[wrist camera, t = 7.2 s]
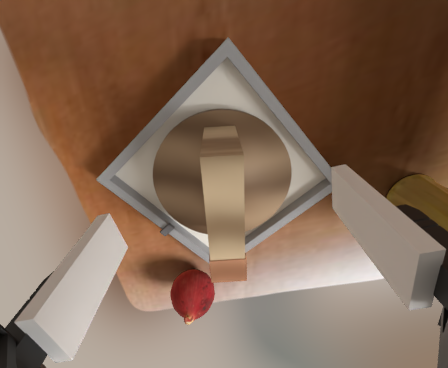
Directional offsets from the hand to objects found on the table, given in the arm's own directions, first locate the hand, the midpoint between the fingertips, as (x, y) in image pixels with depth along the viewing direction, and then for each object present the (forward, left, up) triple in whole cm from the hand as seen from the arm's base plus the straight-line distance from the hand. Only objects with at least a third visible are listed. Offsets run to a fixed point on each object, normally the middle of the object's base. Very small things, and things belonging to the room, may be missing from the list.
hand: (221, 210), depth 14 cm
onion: (+16, +12, -14) cm, 25 cm away
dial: (+2, +3, -12) cm, 13 cm away
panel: (+2, +3, -14) cm, 15 cm away
